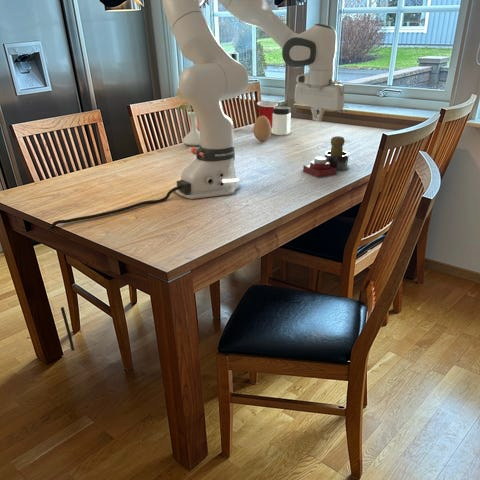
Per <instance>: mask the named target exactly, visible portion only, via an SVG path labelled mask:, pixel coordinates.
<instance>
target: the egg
mask: <svg viewBox="0 0 480 480" xmlns="http://www.w3.org/2000/svg"><path fill="white" fill-rule="evenodd" d="M271 134H272V128H271V125H270V122H269V120H268V119H267V118H266V117H265V116H260V115H259V116H258V117H257V119H256V120H255V121H254V123H253V136H254V137H255V139H256V140H257V141H259V142H266V141H267V140H268V139H269V138H270V137H271Z"/></svg>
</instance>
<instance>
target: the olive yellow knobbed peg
mask: <svg viewBox="0 0 480 480" xmlns="http://www.w3.org/2000/svg"><path fill="white" fill-rule="evenodd" d="M344 145H345V137H344V136H339V135H336V136H332V137H331V139H330V146H331V148H330V151H331V152H330V155H331V156H343V151H344V150H343V149H344V148H343V146H344Z"/></svg>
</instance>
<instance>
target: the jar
mask: <svg viewBox="0 0 480 480" xmlns="http://www.w3.org/2000/svg"><path fill="white" fill-rule="evenodd" d="M273 112H274V113H273V119H272V128H271V134H273V135H276V136H287V135H289V134H291V118H292V117H291V116H292V113H291V106H287V105H286V106H285V105H281V106H279V105H277V107H274V110H273Z"/></svg>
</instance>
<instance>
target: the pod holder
mask: <svg viewBox="0 0 480 480" xmlns="http://www.w3.org/2000/svg"><path fill="white" fill-rule="evenodd" d="M330 152H331V150H328V151H325V152H324V157H325V158H326V160H327V161H330V166H331V167H334V168H337V169H336V172H341V171H345V170H347V169H348V164H349V155H350V153H349V152H347V151H344V150H343V156H331V155H330Z"/></svg>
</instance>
